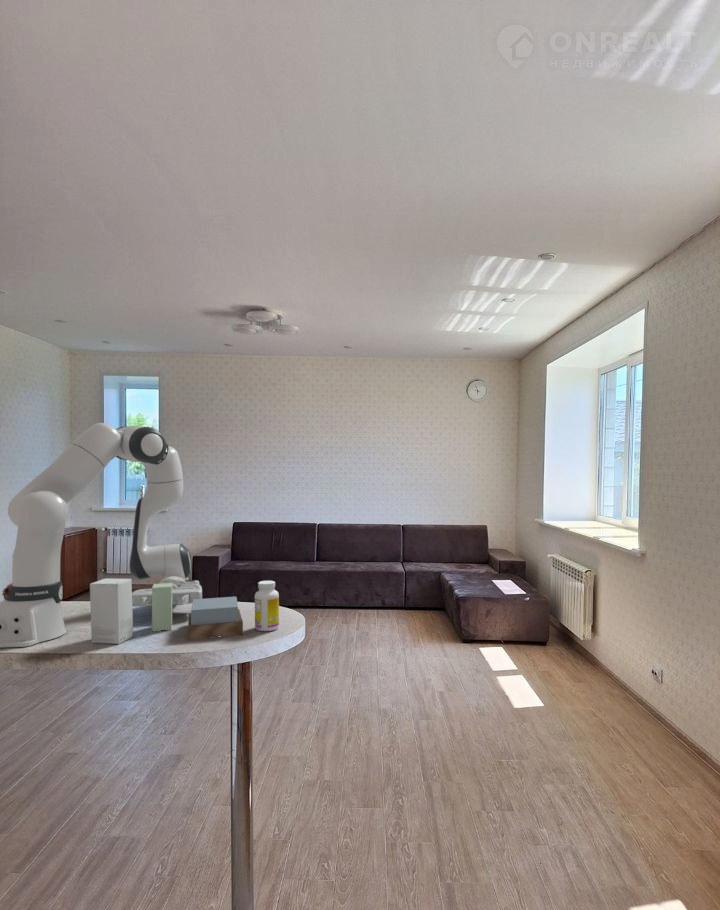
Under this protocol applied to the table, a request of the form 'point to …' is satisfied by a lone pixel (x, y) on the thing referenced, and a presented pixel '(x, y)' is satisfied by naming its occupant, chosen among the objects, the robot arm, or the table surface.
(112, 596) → the skincare box
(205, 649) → the table surface
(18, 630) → the robot arm
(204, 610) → the tower top block
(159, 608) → the sage block
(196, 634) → the tower bottom block
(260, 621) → the supplement bottle
